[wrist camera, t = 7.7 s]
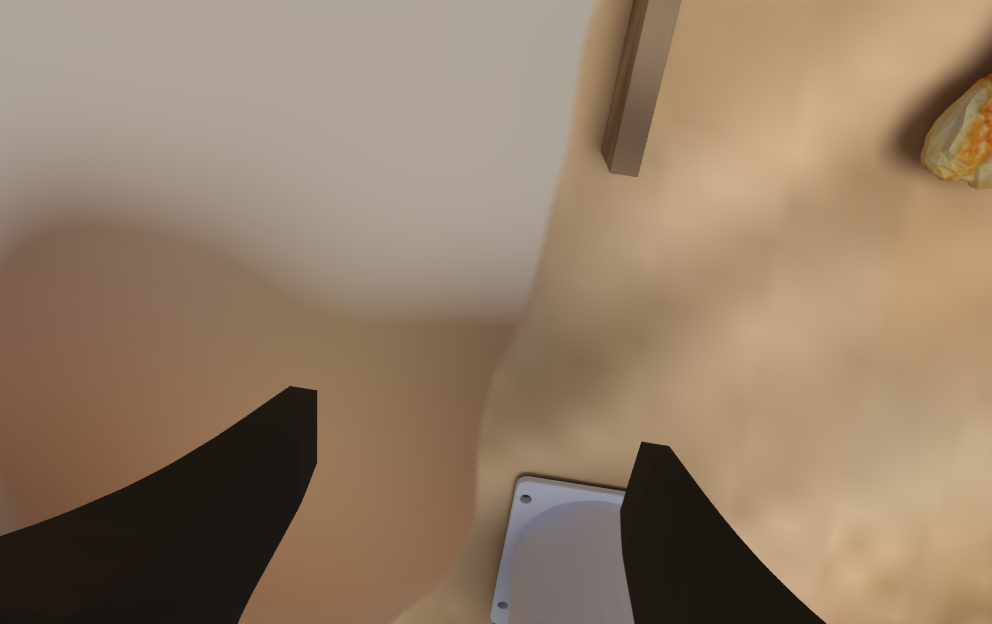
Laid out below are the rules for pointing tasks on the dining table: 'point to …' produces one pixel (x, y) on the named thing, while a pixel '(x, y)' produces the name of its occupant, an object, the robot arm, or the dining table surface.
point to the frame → (638, 83)
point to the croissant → (963, 139)
